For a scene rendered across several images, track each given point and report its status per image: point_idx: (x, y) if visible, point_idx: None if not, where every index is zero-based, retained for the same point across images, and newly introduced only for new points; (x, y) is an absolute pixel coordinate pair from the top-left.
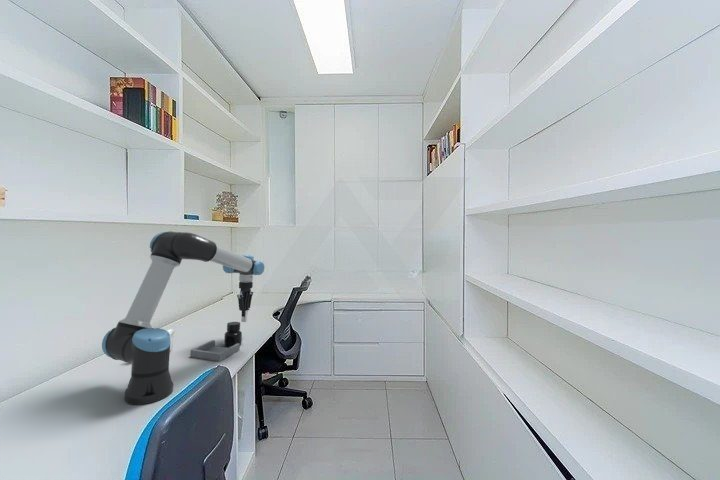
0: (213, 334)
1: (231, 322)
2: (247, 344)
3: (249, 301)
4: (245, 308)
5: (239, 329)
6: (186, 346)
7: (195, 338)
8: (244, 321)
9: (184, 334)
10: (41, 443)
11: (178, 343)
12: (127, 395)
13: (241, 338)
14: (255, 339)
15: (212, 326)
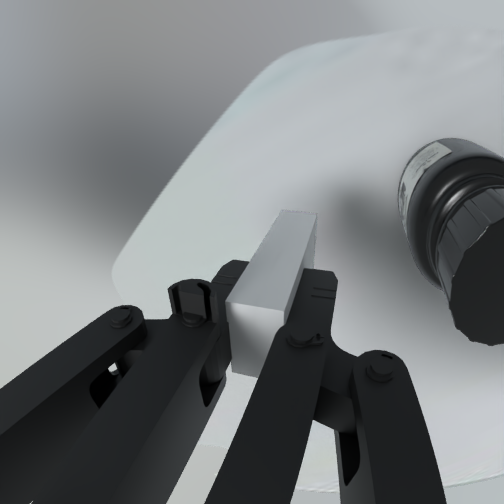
0: None
1: (484, 323)
2: (419, 94)
3: (38, 421)
4: (286, 365)
5: (497, 185)
6: (473, 389)
7: None
8: (315, 231)
9: (321, 446)
10: None
11: (433, 424)
12: None
13: (450, 146)
14: (290, 89)
15: None
